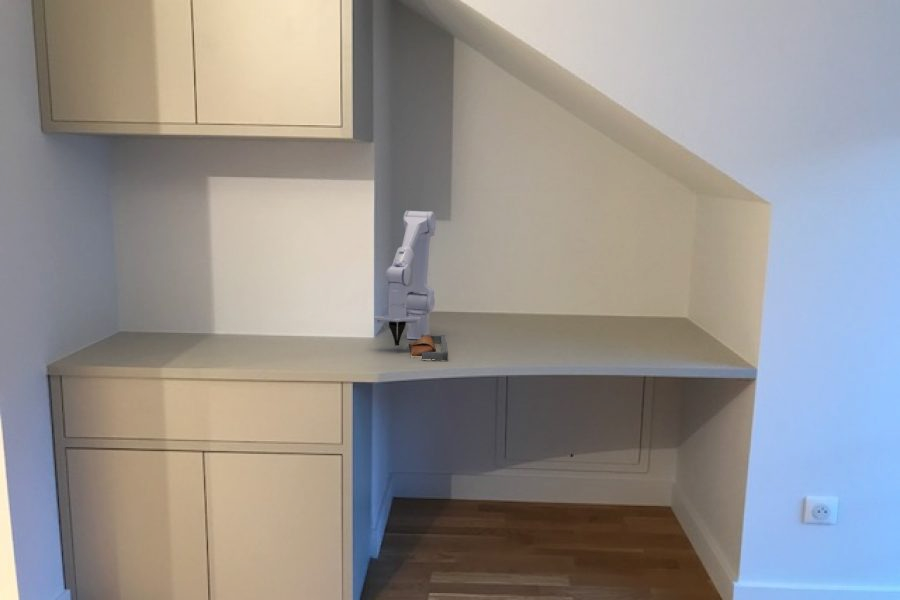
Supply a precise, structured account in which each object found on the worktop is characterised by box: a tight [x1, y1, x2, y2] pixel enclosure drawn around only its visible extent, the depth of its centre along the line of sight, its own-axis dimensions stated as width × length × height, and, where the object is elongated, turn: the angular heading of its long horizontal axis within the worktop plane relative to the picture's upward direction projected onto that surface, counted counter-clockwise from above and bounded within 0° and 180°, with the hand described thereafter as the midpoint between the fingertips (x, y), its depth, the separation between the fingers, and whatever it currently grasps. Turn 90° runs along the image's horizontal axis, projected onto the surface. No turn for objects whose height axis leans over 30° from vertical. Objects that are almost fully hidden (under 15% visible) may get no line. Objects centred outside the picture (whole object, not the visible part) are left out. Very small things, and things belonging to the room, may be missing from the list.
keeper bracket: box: [421, 334, 449, 360], centre depth 229 cm, size 24×8×2 cm, turn 3°
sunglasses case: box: [408, 334, 437, 356], centre depth 229 cm, size 18×7×7 cm
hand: (397, 344), depth 228 cm, fingers closed
